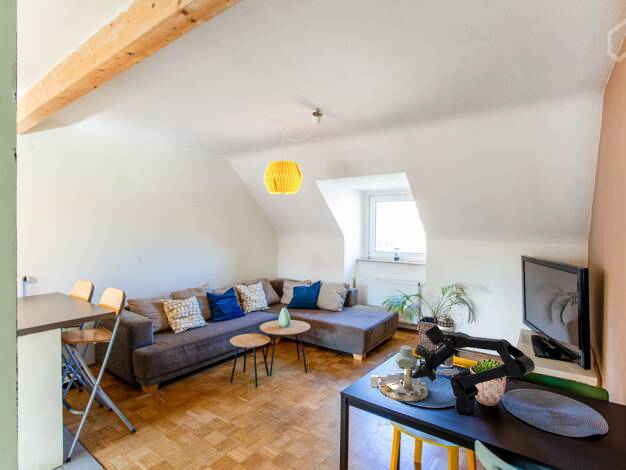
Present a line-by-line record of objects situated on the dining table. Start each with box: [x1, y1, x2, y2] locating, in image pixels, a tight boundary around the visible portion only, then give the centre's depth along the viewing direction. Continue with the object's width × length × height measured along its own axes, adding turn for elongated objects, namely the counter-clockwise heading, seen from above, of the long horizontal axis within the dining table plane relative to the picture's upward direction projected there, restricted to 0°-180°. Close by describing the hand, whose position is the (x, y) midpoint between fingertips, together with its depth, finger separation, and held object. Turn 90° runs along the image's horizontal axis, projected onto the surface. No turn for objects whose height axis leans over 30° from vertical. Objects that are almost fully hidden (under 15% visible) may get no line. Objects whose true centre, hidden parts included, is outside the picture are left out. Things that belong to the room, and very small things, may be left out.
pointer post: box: [370, 374, 383, 389], centre depth 155 cm, size 5×2×5 cm, turn 74°
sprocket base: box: [378, 381, 429, 402], centre depth 152 cm, size 21×21×2 cm
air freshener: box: [394, 345, 418, 369], centre depth 179 cm, size 11×8×10 cm
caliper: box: [435, 367, 461, 378], centre depth 168 cm, size 20×1×6 cm, turn 56°
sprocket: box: [379, 368, 427, 397], centre depth 152 cm, size 19×19×10 cm
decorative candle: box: [436, 315, 455, 368], centre depth 183 cm, size 9×9×25 cm
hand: (412, 377), depth 146 cm, fingers closed, pressing on sprocket
